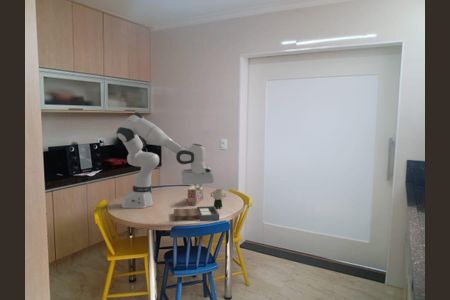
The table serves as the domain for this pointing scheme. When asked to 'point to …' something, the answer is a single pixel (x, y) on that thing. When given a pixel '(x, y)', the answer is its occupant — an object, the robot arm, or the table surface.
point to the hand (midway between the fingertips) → (197, 190)
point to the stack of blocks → (194, 195)
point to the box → (213, 215)
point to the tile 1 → (203, 210)
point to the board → (186, 214)
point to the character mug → (218, 197)
